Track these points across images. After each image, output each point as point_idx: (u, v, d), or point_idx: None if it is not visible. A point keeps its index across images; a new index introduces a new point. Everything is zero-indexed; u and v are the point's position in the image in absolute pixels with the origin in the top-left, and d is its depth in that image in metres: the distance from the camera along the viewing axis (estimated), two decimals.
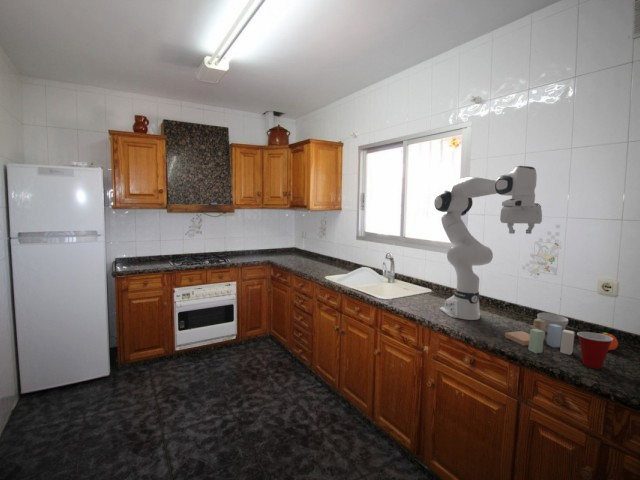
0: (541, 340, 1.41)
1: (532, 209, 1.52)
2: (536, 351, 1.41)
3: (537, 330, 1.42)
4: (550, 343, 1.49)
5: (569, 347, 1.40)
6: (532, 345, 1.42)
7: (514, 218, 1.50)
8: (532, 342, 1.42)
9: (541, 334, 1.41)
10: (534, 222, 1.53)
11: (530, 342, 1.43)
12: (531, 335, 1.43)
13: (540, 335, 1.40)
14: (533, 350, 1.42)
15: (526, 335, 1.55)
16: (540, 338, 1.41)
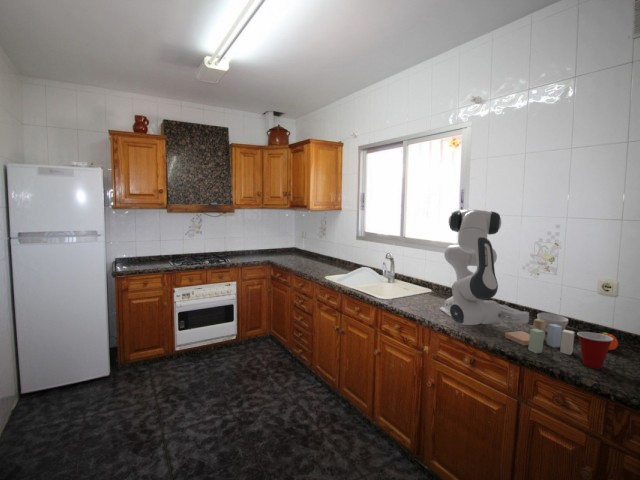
0: (541, 340, 1.41)
1: None
2: (536, 351, 1.41)
3: (537, 330, 1.42)
4: (550, 343, 1.49)
5: (569, 347, 1.40)
6: (532, 345, 1.42)
7: None
8: (532, 342, 1.42)
9: (541, 334, 1.41)
10: None
11: (530, 342, 1.43)
12: (531, 335, 1.43)
13: (540, 335, 1.40)
14: (533, 350, 1.42)
15: (526, 335, 1.55)
16: (540, 338, 1.41)
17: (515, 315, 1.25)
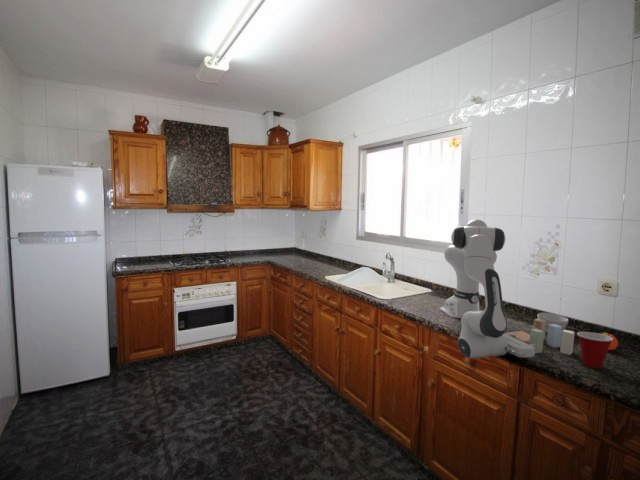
0: (541, 340, 1.41)
1: None
2: (536, 351, 1.41)
3: (537, 330, 1.42)
4: (550, 343, 1.49)
5: (569, 347, 1.40)
6: None
7: None
8: (532, 342, 1.42)
9: (541, 334, 1.41)
10: None
11: (530, 342, 1.43)
12: (531, 335, 1.43)
13: (540, 335, 1.40)
14: None
15: (526, 335, 1.55)
16: (540, 338, 1.41)
17: (521, 349, 1.29)
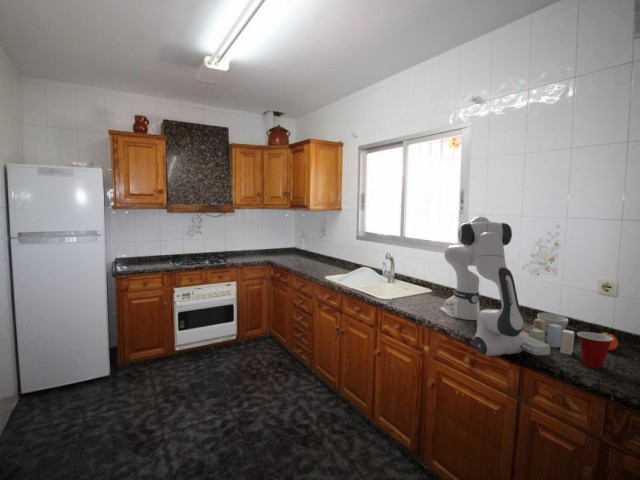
0: None
1: None
2: None
3: (537, 330, 1.42)
4: (550, 343, 1.49)
5: (569, 347, 1.40)
6: None
7: None
8: None
9: (541, 334, 1.41)
10: None
11: None
12: (531, 335, 1.43)
13: (540, 335, 1.40)
14: None
15: None
16: (540, 338, 1.41)
17: (537, 347, 1.31)
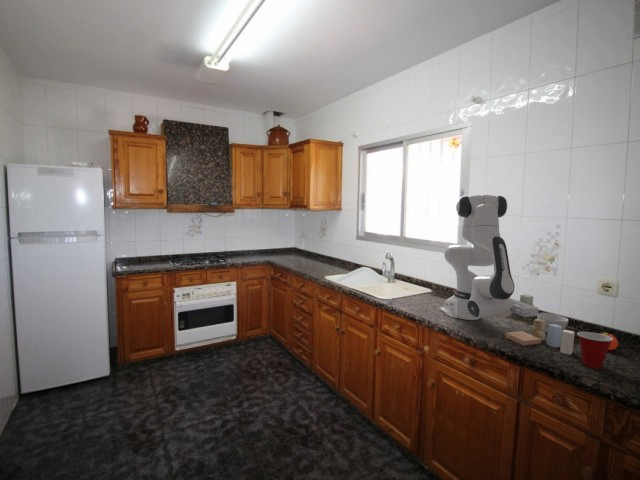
0: None
1: None
2: None
3: (527, 295, 1.52)
4: (550, 343, 1.49)
5: (569, 347, 1.40)
6: None
7: None
8: None
9: (530, 299, 1.51)
10: None
11: None
12: (521, 300, 1.53)
13: (529, 300, 1.51)
14: None
15: (526, 335, 1.55)
16: (529, 302, 1.51)
17: (526, 309, 1.41)
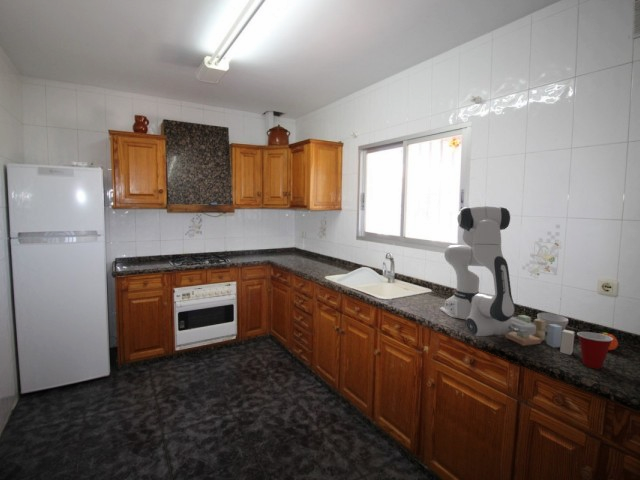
0: None
1: None
2: (523, 335, 1.53)
3: (524, 316, 1.54)
4: (550, 343, 1.49)
5: (569, 347, 1.40)
6: None
7: None
8: None
9: (528, 320, 1.52)
10: None
11: None
12: None
13: (527, 321, 1.52)
14: (520, 334, 1.53)
15: None
16: None
17: (523, 327, 1.42)
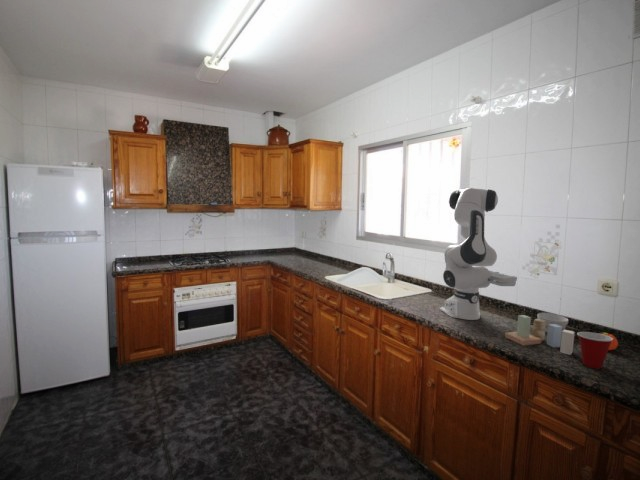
0: (528, 325, 1.53)
1: None
2: (523, 335, 1.53)
3: (524, 316, 1.54)
4: (550, 343, 1.49)
5: (569, 347, 1.40)
6: (520, 330, 1.54)
7: None
8: (520, 327, 1.54)
9: (528, 320, 1.52)
10: None
11: (518, 327, 1.55)
12: (519, 321, 1.54)
13: (527, 321, 1.52)
14: (520, 334, 1.53)
15: None
16: (527, 323, 1.52)
17: (503, 279, 1.36)
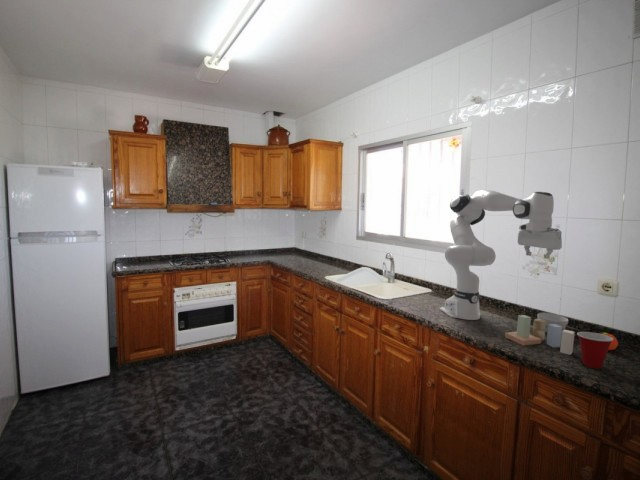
0: (528, 325, 1.53)
1: (543, 234, 1.54)
2: (523, 335, 1.53)
3: (524, 316, 1.54)
4: (550, 343, 1.49)
5: (569, 347, 1.40)
6: (520, 330, 1.54)
7: (524, 241, 1.63)
8: (520, 327, 1.54)
9: (528, 320, 1.52)
10: (546, 247, 1.52)
11: (518, 327, 1.55)
12: (519, 321, 1.54)
13: (527, 321, 1.52)
14: (520, 334, 1.53)
15: None
16: (527, 323, 1.52)
17: None
